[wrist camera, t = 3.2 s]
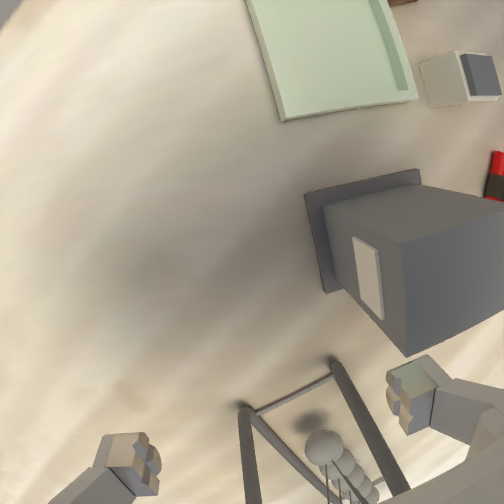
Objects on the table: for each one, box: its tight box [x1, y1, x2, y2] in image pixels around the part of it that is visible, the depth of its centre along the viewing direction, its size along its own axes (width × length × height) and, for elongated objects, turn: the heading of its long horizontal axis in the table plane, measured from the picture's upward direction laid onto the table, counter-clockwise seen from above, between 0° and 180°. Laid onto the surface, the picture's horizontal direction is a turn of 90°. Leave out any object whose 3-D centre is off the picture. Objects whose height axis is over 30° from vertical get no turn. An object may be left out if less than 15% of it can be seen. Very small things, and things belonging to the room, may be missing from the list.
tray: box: [245, 0, 419, 122], centre depth 20 cm, size 11×11×2 cm
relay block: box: [419, 50, 502, 107], centre depth 19 cm, size 4×4×6 cm
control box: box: [304, 169, 504, 358], centre depth 19 cm, size 10×8×12 cm
